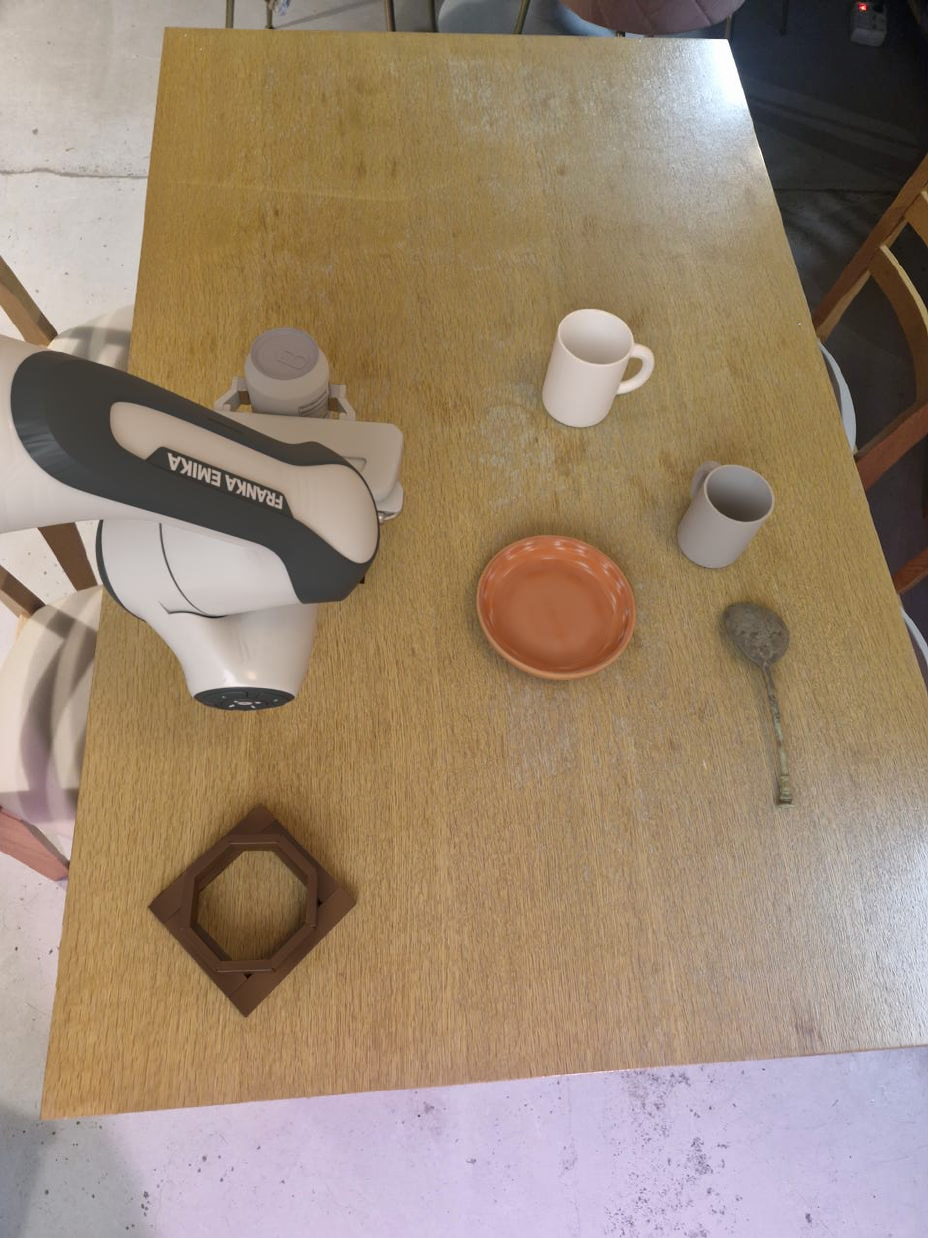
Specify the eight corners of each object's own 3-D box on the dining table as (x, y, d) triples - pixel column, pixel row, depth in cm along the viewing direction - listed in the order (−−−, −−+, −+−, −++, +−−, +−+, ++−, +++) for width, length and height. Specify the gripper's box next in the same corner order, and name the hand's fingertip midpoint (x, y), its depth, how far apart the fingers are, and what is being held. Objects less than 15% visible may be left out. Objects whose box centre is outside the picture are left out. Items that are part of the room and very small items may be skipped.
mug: (633, 374, 102) (658, 308, 93) (646, 428, 99) (675, 365, 90) (535, 375, 101) (552, 308, 92) (546, 431, 97) (564, 366, 88)
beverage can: (280, 407, 82) (265, 310, 71) (345, 432, 81) (341, 337, 70) (245, 460, 78) (225, 366, 68) (314, 485, 78) (304, 395, 67)
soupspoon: (775, 607, 90) (714, 606, 90) (787, 591, 87) (724, 589, 87) (816, 811, 79) (747, 810, 79) (832, 801, 76) (760, 799, 76)
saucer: (444, 586, 87) (446, 571, 84) (572, 526, 91) (578, 510, 89) (528, 716, 81) (533, 705, 78) (659, 645, 86) (668, 632, 83)
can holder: (246, 1018, 67) (241, 1016, 64) (149, 908, 70) (140, 902, 67) (356, 903, 72) (356, 897, 69) (261, 805, 75) (257, 796, 72)
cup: (690, 576, 90) (721, 530, 82) (655, 500, 94) (681, 449, 86) (751, 563, 92) (786, 516, 84) (713, 488, 96) (744, 437, 88)
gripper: (403, 503, 65) (411, 368, 72) (131, 485, 64) (164, 348, 70) (401, 547, 71) (408, 418, 77) (151, 531, 69) (179, 401, 76)
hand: (290, 385), depth 74 cm, fingers closed on beverage can, 7 cm apart
